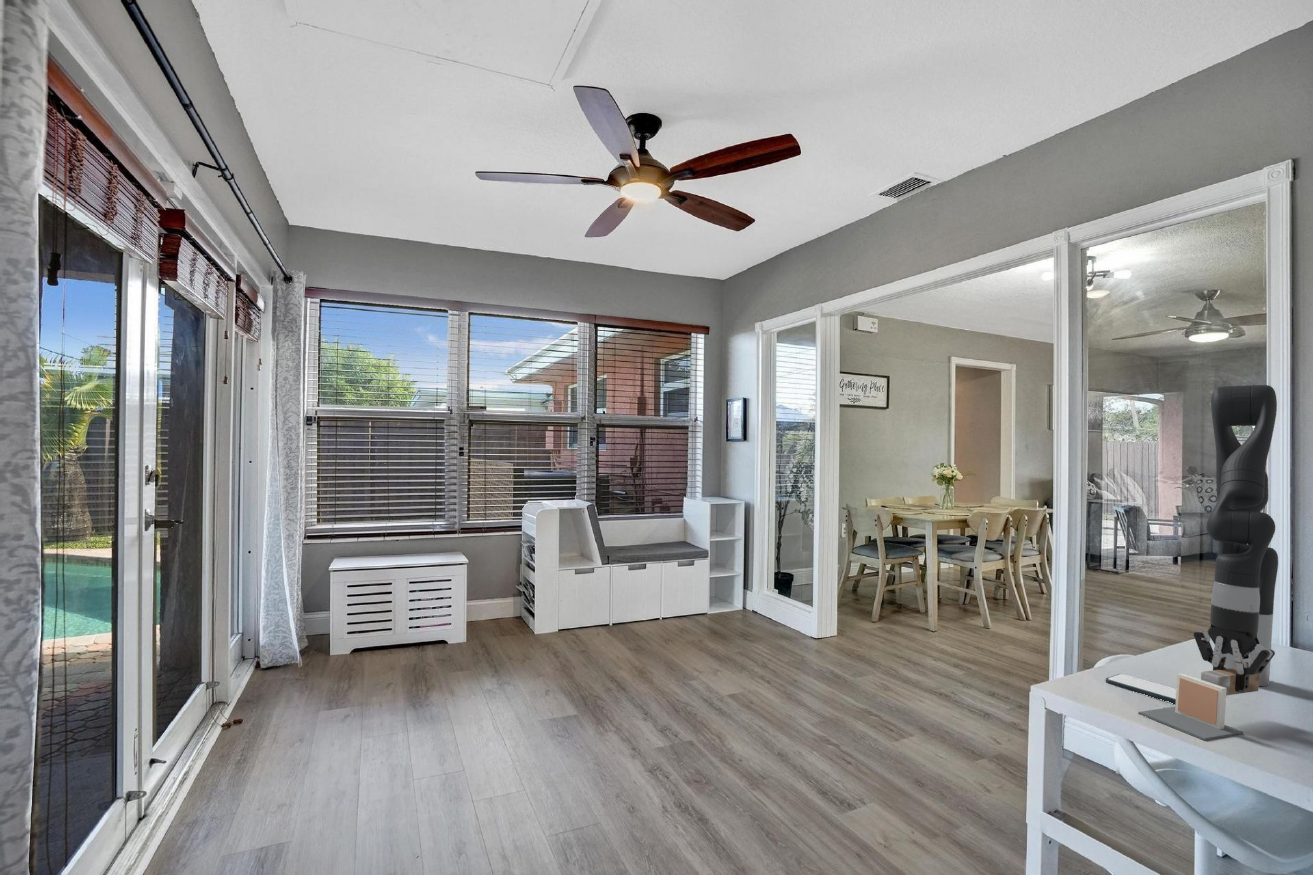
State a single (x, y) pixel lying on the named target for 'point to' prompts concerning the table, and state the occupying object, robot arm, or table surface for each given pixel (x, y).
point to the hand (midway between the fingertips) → (1229, 687)
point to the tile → (1201, 700)
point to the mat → (1189, 724)
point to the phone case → (1143, 687)
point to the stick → (1229, 680)
